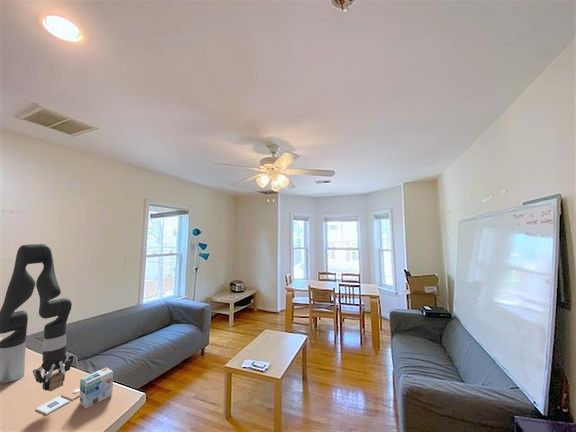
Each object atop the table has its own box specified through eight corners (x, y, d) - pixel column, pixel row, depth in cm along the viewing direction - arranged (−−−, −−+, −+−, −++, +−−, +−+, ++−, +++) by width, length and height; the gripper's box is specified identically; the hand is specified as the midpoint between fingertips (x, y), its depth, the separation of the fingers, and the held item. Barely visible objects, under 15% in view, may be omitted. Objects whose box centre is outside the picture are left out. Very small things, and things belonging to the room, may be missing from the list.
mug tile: (61, 396, 115) (61, 394, 115) (80, 385, 122) (80, 384, 123) (72, 400, 112) (72, 398, 112) (91, 389, 120) (91, 387, 120)
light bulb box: (85, 409, 107) (85, 383, 107) (78, 403, 110) (79, 378, 111) (113, 394, 116) (113, 370, 116) (106, 389, 120) (107, 366, 120)
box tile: (35, 409, 107) (35, 407, 107) (58, 397, 114) (58, 395, 114) (47, 414, 104) (47, 412, 104) (69, 402, 111) (69, 400, 111)
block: (44, 389, 108) (44, 377, 108) (56, 383, 112) (57, 371, 112) (50, 391, 106) (50, 379, 106) (63, 385, 110) (63, 373, 111)
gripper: (68, 338, 118) (67, 375, 117) (28, 352, 104) (27, 394, 104) (78, 340, 115) (77, 378, 115) (38, 355, 102) (37, 399, 101)
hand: (53, 386), depth 109 cm, fingers closed on block, 4 cm apart
